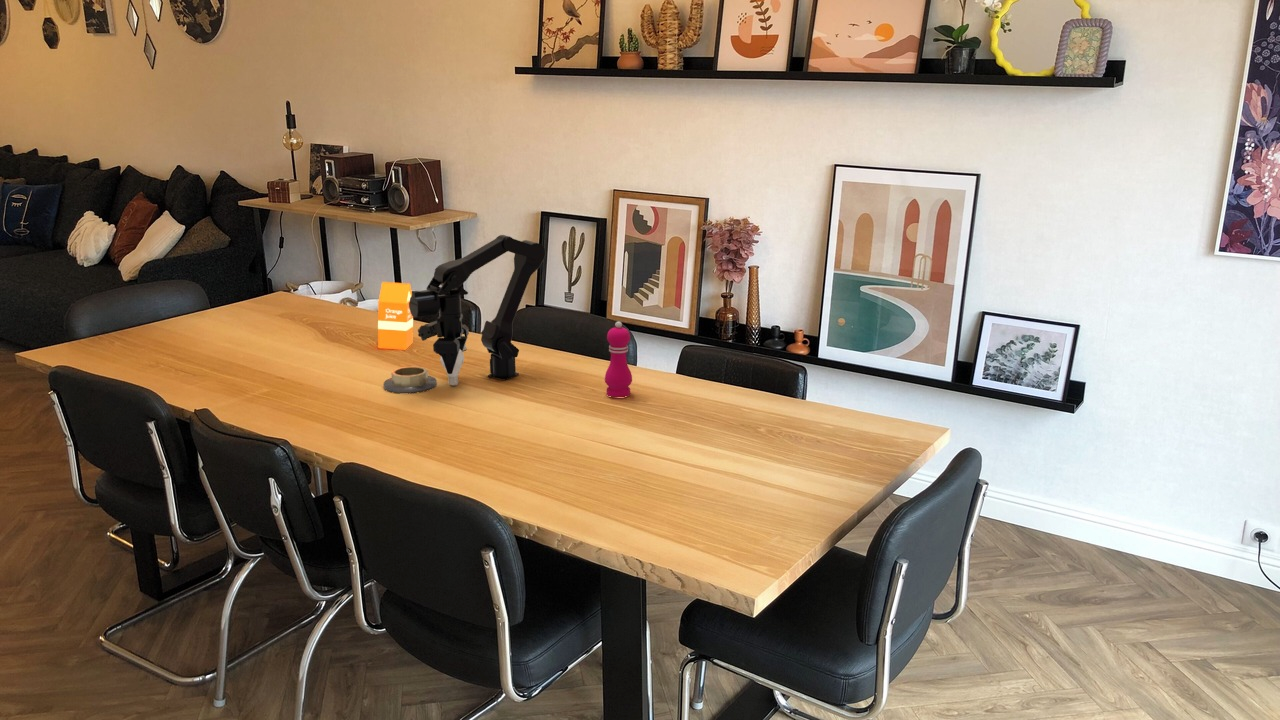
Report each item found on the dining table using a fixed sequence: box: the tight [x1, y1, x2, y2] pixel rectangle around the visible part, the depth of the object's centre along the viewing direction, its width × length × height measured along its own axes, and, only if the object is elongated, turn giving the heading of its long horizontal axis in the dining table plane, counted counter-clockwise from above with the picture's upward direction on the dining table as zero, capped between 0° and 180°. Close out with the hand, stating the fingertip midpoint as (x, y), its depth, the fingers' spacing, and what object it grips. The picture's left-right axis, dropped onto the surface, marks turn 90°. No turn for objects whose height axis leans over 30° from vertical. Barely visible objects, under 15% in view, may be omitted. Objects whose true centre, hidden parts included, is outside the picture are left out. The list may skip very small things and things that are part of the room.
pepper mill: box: [604, 321, 633, 398], centre depth 245 cm, size 7×7×20 cm
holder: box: [383, 365, 438, 395], centre depth 253 cm, size 14×14×4 cm
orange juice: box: [377, 281, 414, 351], centre depth 289 cm, size 8×9×20 cm
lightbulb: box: [439, 350, 465, 387], centre depth 252 cm, size 6×6×11 cm
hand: (453, 368), depth 252 cm, fingers open, 9 cm apart
